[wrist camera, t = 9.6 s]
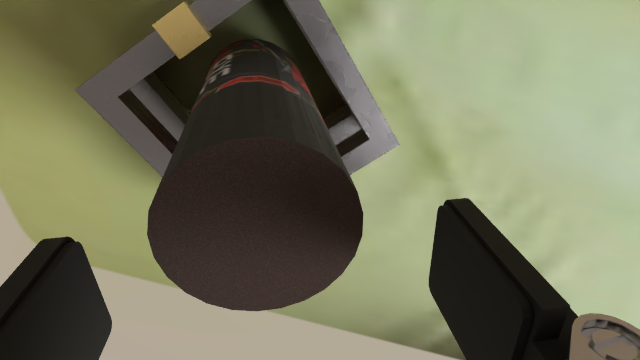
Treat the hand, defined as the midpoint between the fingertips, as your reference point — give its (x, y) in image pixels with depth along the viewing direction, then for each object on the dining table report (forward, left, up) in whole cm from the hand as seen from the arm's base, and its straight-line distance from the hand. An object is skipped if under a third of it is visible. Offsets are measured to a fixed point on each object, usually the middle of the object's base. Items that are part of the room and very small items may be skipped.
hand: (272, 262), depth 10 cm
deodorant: (+1, 0, -16) cm, 16 cm away
